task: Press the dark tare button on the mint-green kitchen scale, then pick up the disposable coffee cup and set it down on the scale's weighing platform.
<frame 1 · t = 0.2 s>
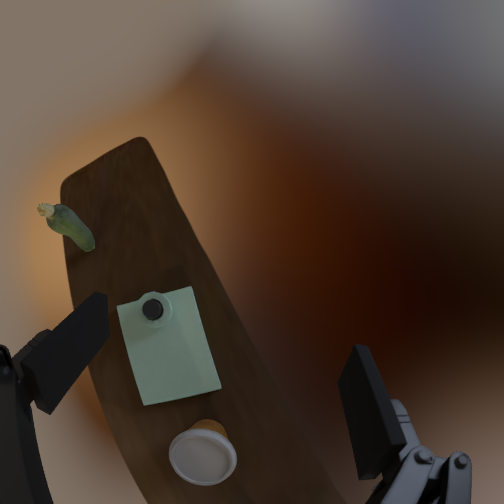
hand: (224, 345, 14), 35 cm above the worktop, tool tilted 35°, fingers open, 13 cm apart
disposable coffee cup: (208, 434, 43), on the worktop
tare button: (152, 309, 45), point 4 cm above the worktop, slide at 0.2 cm
vegetable: (94, 245, 51), on the worktop
scale: (167, 347, 47), on the worktop
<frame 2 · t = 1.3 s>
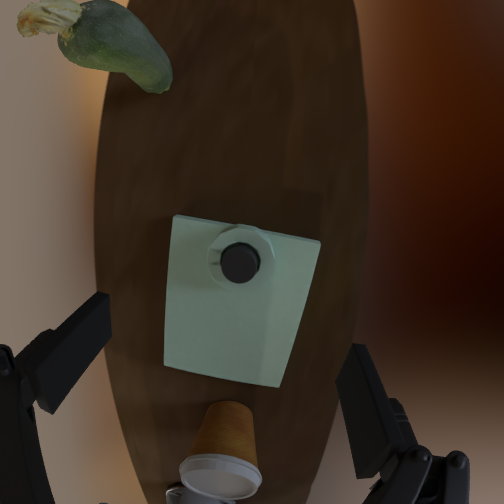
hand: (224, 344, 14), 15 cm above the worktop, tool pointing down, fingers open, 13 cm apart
disposable coffee cup: (229, 413, 36), on the worktop
tare button: (239, 263, 25), point 4 cm above the worktop, slide at 0.2 cm
vegetable: (169, 82, 24), on the worktop
scale: (232, 309, 31), on the worktop
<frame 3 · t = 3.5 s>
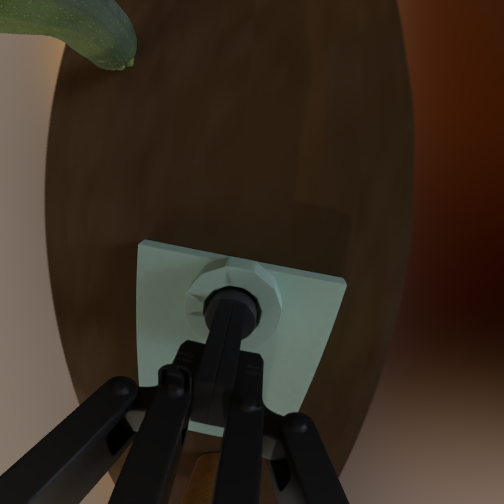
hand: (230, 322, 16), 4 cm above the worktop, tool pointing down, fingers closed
disposable coffee cup: (223, 463, 28), on the worktop
tare button: (231, 313, 18), point 3 cm above the worktop, slide at -0.3 cm, touching gripper
vegetable: (136, 55, 16), on the worktop
scale: (224, 362, 22), on the worktop
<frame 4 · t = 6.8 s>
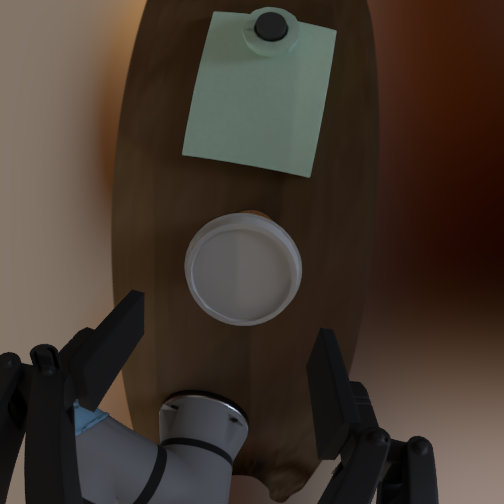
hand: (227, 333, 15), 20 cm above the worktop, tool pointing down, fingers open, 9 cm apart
disposable coffee cup: (250, 236, 34), on the worktop
tare button: (271, 26, 23), point 4 cm above the worktop, slide at 0.2 cm
scale: (260, 87, 29), on the worktop
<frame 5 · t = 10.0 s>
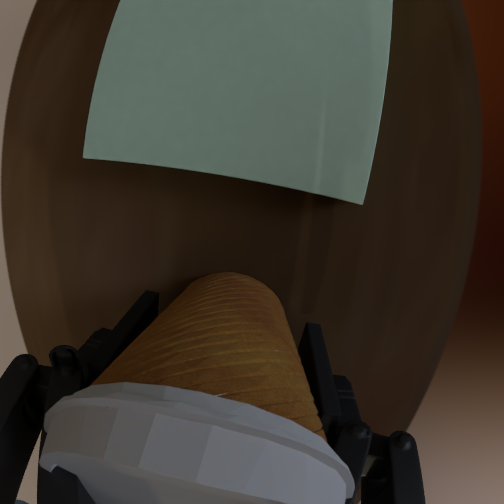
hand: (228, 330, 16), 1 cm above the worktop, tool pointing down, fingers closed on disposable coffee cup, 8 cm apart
disposable coffee cup: (230, 321, 17), on the worktop, touching gripper
scale: (249, 9, 11), on the worktop
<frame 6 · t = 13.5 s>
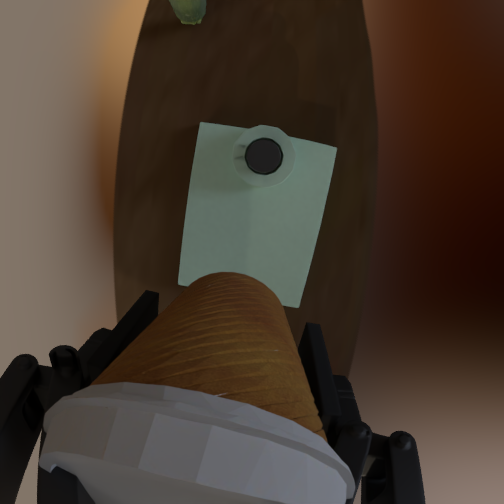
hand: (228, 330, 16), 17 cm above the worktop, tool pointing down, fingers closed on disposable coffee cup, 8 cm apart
disposable coffee cup: (230, 321, 17), point 17 cm above the worktop, touching gripper
tare button: (263, 156, 26), point 4 cm above the worktop, slide at 0.2 cm
vegetable: (200, 18, 25), on the worktop
scale: (252, 216, 31), on the worktop
when the fingers open (2 cm above the worktop, at t = 17.4 s): disposable coffee cup stays where it is, resting on scale.
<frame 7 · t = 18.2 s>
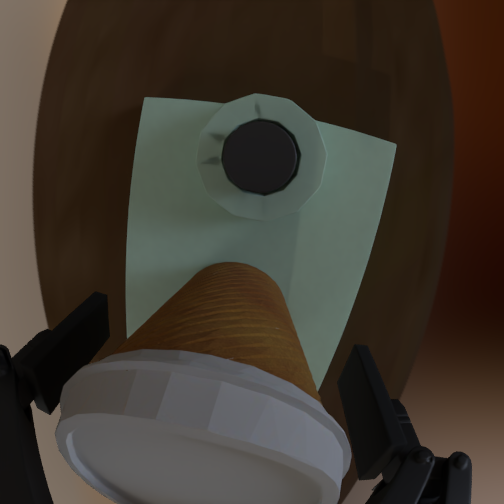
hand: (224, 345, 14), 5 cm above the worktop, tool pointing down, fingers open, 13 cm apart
disposable coffee cup: (233, 309, 18), point 1 cm above the worktop, touching scale
tare button: (260, 156, 12), point 4 cm above the worktop, slide at 0.2 cm
scale: (241, 266, 18), on the worktop
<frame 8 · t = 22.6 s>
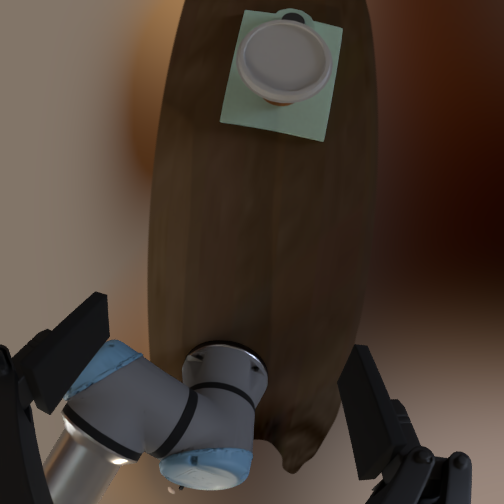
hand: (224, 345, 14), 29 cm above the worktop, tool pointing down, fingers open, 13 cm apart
disposable coffee cup: (280, 85, 34), point 1 cm above the worktop, touching scale
tare button: (292, 23, 29), point 4 cm above the worktop, slide at 0.2 cm
scale: (283, 71, 35), on the worktop
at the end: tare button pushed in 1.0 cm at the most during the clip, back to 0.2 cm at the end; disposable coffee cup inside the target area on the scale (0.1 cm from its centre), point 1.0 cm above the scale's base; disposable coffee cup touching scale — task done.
